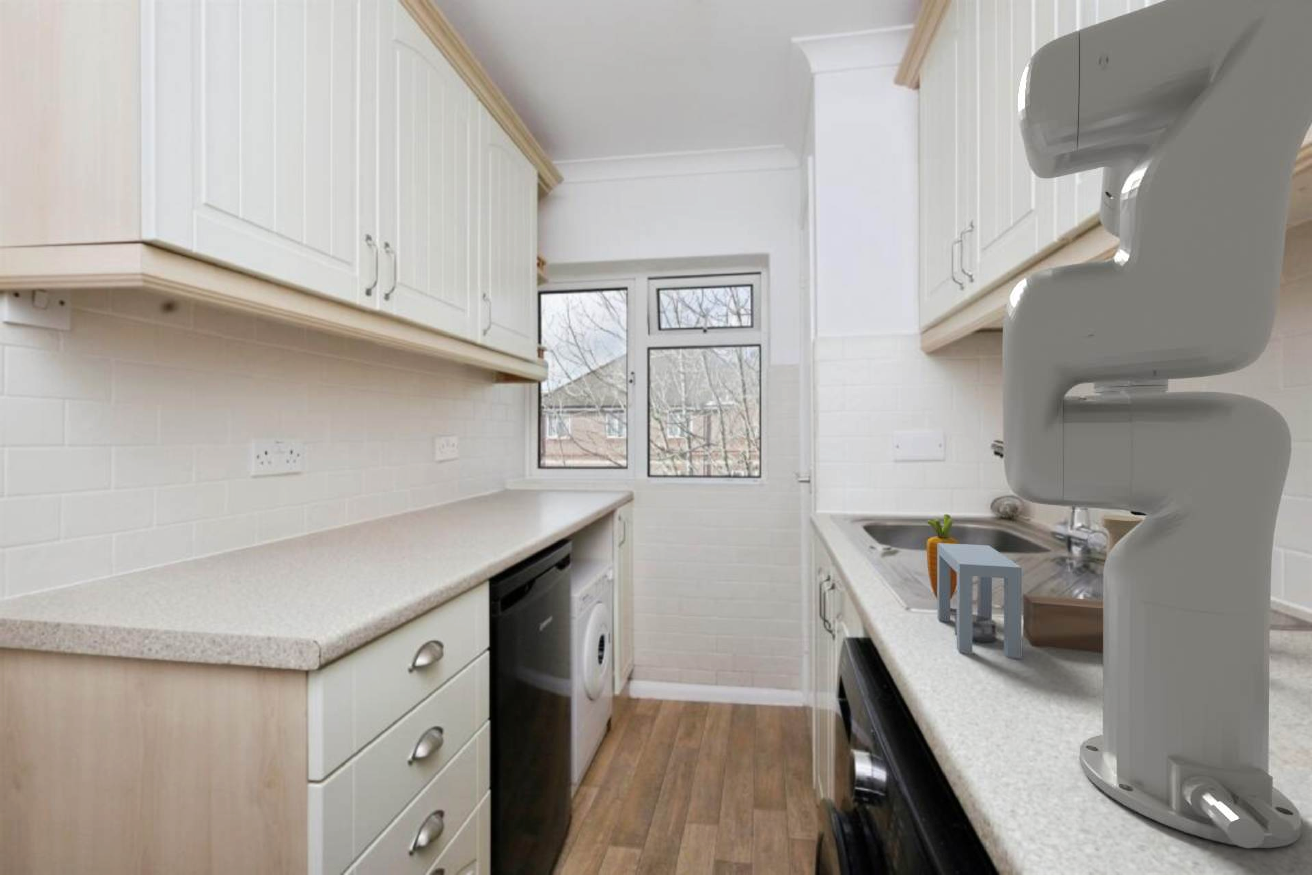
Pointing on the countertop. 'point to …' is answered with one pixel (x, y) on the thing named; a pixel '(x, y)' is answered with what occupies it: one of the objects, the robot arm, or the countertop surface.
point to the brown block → (1063, 622)
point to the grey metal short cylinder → (981, 629)
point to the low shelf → (979, 591)
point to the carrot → (932, 553)
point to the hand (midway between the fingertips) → (1129, 509)
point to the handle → (1118, 527)
